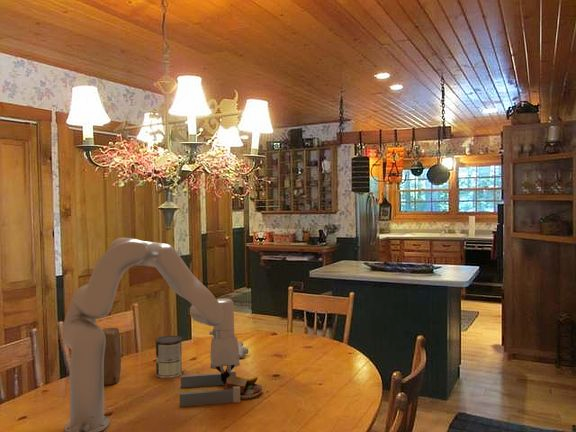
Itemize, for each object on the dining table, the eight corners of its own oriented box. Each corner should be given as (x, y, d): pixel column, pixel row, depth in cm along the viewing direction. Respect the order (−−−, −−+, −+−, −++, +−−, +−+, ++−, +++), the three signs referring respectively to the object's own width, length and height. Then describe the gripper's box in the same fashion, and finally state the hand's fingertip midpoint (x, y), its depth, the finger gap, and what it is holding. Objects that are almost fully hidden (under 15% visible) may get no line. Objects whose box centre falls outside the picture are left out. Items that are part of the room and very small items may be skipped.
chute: (240, 402, 170) (240, 388, 169) (179, 406, 166) (179, 392, 166) (235, 382, 188) (235, 369, 188) (180, 386, 185) (180, 373, 185)
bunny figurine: (228, 351, 216) (224, 338, 230) (228, 362, 217) (224, 349, 231) (250, 350, 218) (244, 337, 233) (249, 361, 219) (244, 347, 233)
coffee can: (150, 374, 198) (150, 339, 198) (171, 368, 206) (171, 334, 206) (166, 380, 192) (166, 343, 191) (187, 373, 200) (187, 338, 199)
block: (116, 385, 186) (115, 332, 185) (95, 386, 185) (94, 332, 185) (123, 375, 196) (122, 325, 196) (103, 376, 196) (103, 325, 195)
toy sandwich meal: (257, 401, 170) (258, 388, 170) (219, 397, 172) (219, 384, 172) (265, 386, 182) (265, 374, 182) (229, 383, 185) (230, 370, 184)
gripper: (204, 337, 175) (205, 389, 176) (246, 333, 179) (247, 384, 180) (202, 332, 182) (204, 381, 183) (242, 328, 186) (244, 377, 187)
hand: (225, 382), depth 181 cm, fingers closed
